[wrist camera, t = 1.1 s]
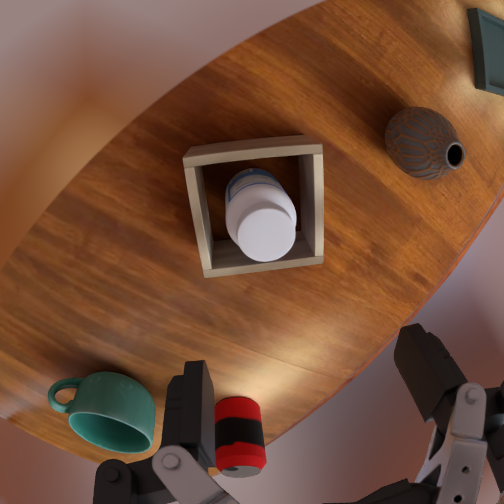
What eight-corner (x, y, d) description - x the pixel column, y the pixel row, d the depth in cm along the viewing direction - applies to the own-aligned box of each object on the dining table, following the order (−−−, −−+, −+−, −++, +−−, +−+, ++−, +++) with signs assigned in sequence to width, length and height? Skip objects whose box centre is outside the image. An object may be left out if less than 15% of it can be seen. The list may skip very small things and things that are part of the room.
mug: (172, 384, 42) (166, 438, 33) (141, 415, 46) (134, 460, 38) (72, 334, 36) (48, 385, 28) (56, 374, 40) (39, 418, 32)
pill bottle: (273, 224, 31) (291, 278, 22) (220, 214, 30) (218, 266, 21) (287, 173, 28) (315, 208, 20) (232, 160, 27) (235, 191, 19)
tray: (466, 9, 19) (476, 7, 17) (511, 30, 19) (521, 30, 18) (475, 88, 24) (485, 89, 23) (517, 101, 24) (527, 103, 23)
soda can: (237, 390, 43) (242, 459, 33) (268, 407, 46) (278, 469, 36) (204, 408, 45) (203, 472, 35) (235, 423, 48) (239, 482, 38)
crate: (190, 146, 26) (182, 158, 22) (305, 134, 27) (322, 143, 22) (207, 248, 32) (204, 278, 27) (308, 236, 32) (323, 263, 27)
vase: (421, 99, 25) (477, 108, 18) (432, 159, 28) (484, 183, 21) (367, 111, 26) (417, 121, 18) (382, 175, 29) (429, 205, 21)
